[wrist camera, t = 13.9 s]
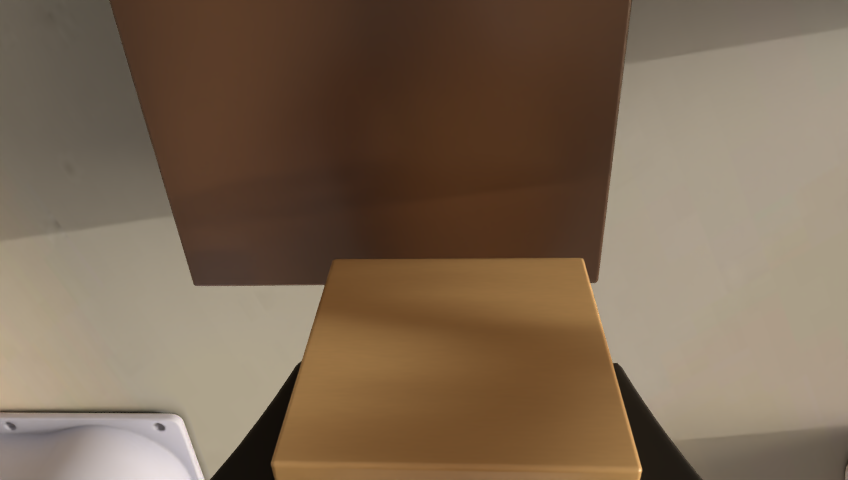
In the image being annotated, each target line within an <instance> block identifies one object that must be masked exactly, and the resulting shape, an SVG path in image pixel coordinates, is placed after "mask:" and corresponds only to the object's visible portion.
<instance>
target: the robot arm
mask: <svg viewBox="0 0 848 480" xmlns="http://www.w3.org/2000/svg"><path fill="white" fill-rule="evenodd" d="M301 362H302V361H301ZM301 362H300V363H299V364H298V365H296V367H295V368H294V370H293V371H292V373H291V374H290V376H289V377H288V379H287V380H286V382H285V383H284V385H283V386H282V388H281V389H280V391H279V392H278V394H277V395H276V396H275V398H274V399H273V401H272V402H271V403H270V405H269V406H268V408H267V409H266V410H265V412H264V413H263V415H262V416H261V417H260V419H259V420H258V421H257V423H256V424H255V425H254V426H253V428H252V429H251V430H250V432H249V433H248V434H247V436H246V437H245V438H244V440H243V441H242V442H241V443H240V445H239V446H238V447H237V448H236V450H235V451H234V452H233V453H232V454H231V456H230V457H229V458H228V459H227V460H226V462H225V463H224V464H223V465H222V466H221V467H220V469H219V470H218V471H217V472H216V473H215V475H214V476H213V477H212V478H211V479H210V480H275V479H274V475H273V471H272V468H271V461H272V457H273V454H274V451H275V447H276V444H277V441H278V438H279V434H280V431H281V428H282V424H283V421H284V418H285V415H286V411H287V408H288V405H289V402H290V398H291V395H292V392H293V388H294V385H295V382H296V379H297V375H298V372H299V369H300V365H301ZM613 366H614V370H615V374H616V377H617V381H618V384H619V388H620V391H621V395H622V399H623V402H624V406H625V409H626V413H627V417H628V420H629V424H630V427H631V431H632V435H633V438H634V442H635V445H636V449H637V452H638V456H639V460H640V463H641V467H642V473H641V478H640V480H702V479H701V477H700V476H699V475H698V474H697V473H696V471H695V470H694V469H693V468H692V466H691V465H690V464H689V463H688V461H687V460H686V459H685V458H684V456H683V455H682V454H681V452H680V451H679V450H678V448H677V447H676V446H675V444H674V443H673V442H672V441H671V439H670V438H669V437H668V435H667V434H666V433H665V431H664V430H663V429H662V427H661V426H660V424H659V423H658V422H657V420H656V419H655V417H654V416H653V414H652V413H651V412H650V410H649V409H648V407H647V406H646V404H645V403H644V401H643V400H642V398H641V397H640V395H639V394H638V392H637V391H636V389H635V388H634V386H633V385H632V383H631V381H630V380H629V378H628V377H627V375H626V373H625V372H624V370H623V369H622V367H621V366H620V365H619V364H617V363H613ZM0 480H204V477H203V474H202V471H201V468H200V466H199V463H198V460H197V457H196V455H195V452H194V449H193V446H192V443H191V441H190V438H189V435H188V432H187V430H186V427H185V424H184V421H183V420H182V418H181V417H179V416H178V415H176V414H167V413H4V412H0Z"/></svg>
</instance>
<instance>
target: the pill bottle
mask: <svg viewBox="0 0 848 480" xmlns="http://www.w3.org/2000/svg"><path fill="white" fill-rule="evenodd" d="M845 478H846V480H848V465H847V468H846V472H845Z"/></svg>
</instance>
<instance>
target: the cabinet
mask: <svg viewBox="0 0 848 480" xmlns="http://www.w3.org/2000/svg"><path fill="white" fill-rule="evenodd" d="M109 1H110V5H111V8H112V11H113V15H114V18H115V21H116V25H117V28H118V31H119V35H120V38H121V41H122V45H123V48H124V52H125V55H126V58H127V62H128V65H129V68H130V72H131V75H132V78H133V82H134V85H135V88H136V92H137V95H138V99H139V102H140V105H141V109H142V112H143V115H144V119H145V122H146V125H147V129H148V132H149V135H150V139H151V142H152V146H153V149H154V152H155V156H156V159H157V162H158V166H159V169H160V172H161V176H162V179H163V182H164V186H165V189H166V193H167V196H168V199H169V203H170V206H171V209H172V213H173V216H174V219H175V223H176V226H177V229H178V233H179V236H180V240H181V243H182V246H183V250H184V253H185V256H186V260H187V263H188V266H189V270H190V273H191V276H192V280H193V283H194V285H195V286H261V285H325V283H326V280H327V277H328V274H329V270H330V267H331V264H332V261H333V260H334V259H425V258H582V259H583V260H584V262H585V266H586V270H587V273H588V277H589V280H590V283H596V282H597V281H598V276H599V268H600V260H601V252H602V243H603V235H604V227H605V219H606V210H607V202H608V194H609V185H610V177H611V169H612V161H613V152H614V144H615V136H616V128H617V119H618V111H619V103H620V95H621V86H622V78H623V70H624V62H625V53H626V45H627V37H628V28H629V20H630V12H631V4H632V0H109Z"/></svg>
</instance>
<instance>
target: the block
mask: <svg viewBox="0 0 848 480" xmlns="http://www.w3.org/2000/svg"><path fill="white" fill-rule="evenodd" d="M271 468H272V471H273V475H274V479H275V480H640V478H641V473H642V467H641V463H640V460H639V456H638V452H637V449H636V445H635V442H634V438H633V435H632V431H631V427H630V424H629V420H628V417H627V413H626V409H625V406H624V402H623V399H622V395H621V391H620V388H619V384H618V381H617V377H616V374H615V370H614V366H613V363H612V359H611V356H610V352H609V348H608V345H607V341H606V338H605V334H604V331H603V327H602V323H601V320H600V316H599V313H598V309H597V305H596V302H595V298H594V295H593V291H592V288H591V284H590V280H589V277H588V273H587V270H586V266H585V262H584V260H583V259H582V258H425V259H334V260H333V261H332V264H331V267H330V270H329V274H328V277H327V280H326V283H325V287H324V290H323V293H322V297H321V300H320V303H319V306H318V310H317V313H316V316H315V320H314V323H313V326H312V329H311V333H310V336H309V339H308V342H307V346H306V349H305V352H304V356H303V359H302V362H301V365H300V369H299V372H298V375H297V379H296V382H295V385H294V388H293V392H292V395H291V398H290V402H289V405H288V408H287V411H286V415H285V418H284V421H283V424H282V428H281V431H280V434H279V438H278V441H277V444H276V447H275V451H274V454H273V457H272V461H271Z"/></svg>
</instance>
